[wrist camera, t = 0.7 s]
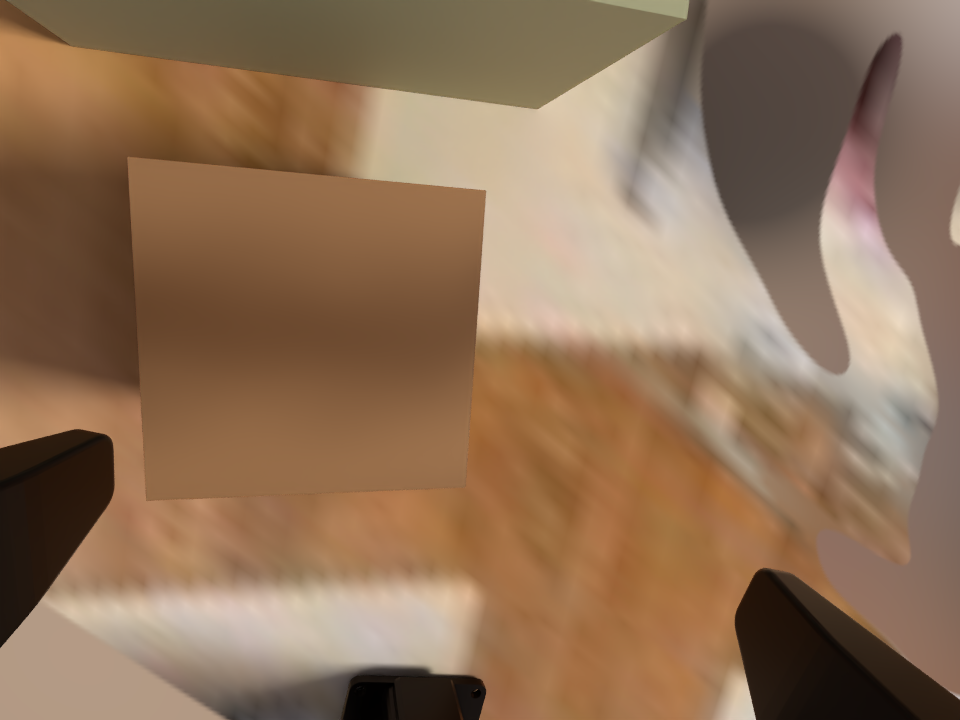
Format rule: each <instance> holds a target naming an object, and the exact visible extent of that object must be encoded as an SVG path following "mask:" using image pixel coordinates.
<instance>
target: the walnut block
mask: <svg viewBox="0 0 960 720" xmlns="http://www.w3.org/2000/svg"><path fill="white" fill-rule="evenodd" d="M127 161H128V179H129V197H130V215H131V233H132V251H133V269H134V287H135V305H136V323H137V341H138V360H139V378H140V396H141V414H142V432H143V450H144V468H145V486H146V501H154V500H178V499H202V498H226V497H250V496H274V495H298V494H322V493H346V492H370V491H393V490H417V489H441V488H465V487H466V475H467V460H468V446H469V431H470V417H471V402H472V387H473V373H474V358H475V344H476V329H477V314H478V300H479V285H480V271H481V256H482V241H483V227H484V212H485V198H486V191H485V190H474V189H464V188H453V187H443V186H432V185H421V184H411V183H400V182H390V181H379V180H369V179H358V178H347V177H337V176H326V175H316V174H305V173H294V172H284V171H273V170H263V169H252V168H242V167H231V166H220V165H210V164H199V163H189V162H178V161H167V160H157V159H146V158H136V157H127Z"/></svg>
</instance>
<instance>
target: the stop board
mask: <svg viewBox="0 0 960 720" xmlns="http://www.w3.org/2000/svg"><path fill="white" fill-rule="evenodd" d="M6 1H8V2H9V3H11V4H12V5H14V6H15V7H16V8H18V9H19V10H21V11H22V12H24V13H25V14H26V15H28V16H29V17H31V18H32V19H34V20H35V21H36V22H38V23H39V24H41V25H42V26H43V27H45V28H46V29H48V30H49V31H51V32H52V33H53V34H55V35H56V36H58V37H59V38H61V39H62V40H63V41H65V42H66V43H68V44H69V45H70V46H74V47H82V48H89V49H97V50H104V51H111V52H119V53H126V54H133V55H141V56H148V57H156V58H163V59H170V60H178V61H185V62H193V63H200V64H207V65H215V66H222V67H230V68H237V69H244V70H252V71H259V72H266V73H274V74H281V75H289V76H296V77H303V78H311V79H318V80H326V81H333V82H340V83H348V84H355V85H363V86H370V87H377V88H385V89H392V90H399V91H407V92H414V93H422V94H429V95H436V96H444V97H451V98H459V99H466V100H473V101H481V102H488V103H496V104H503V105H510V106H518V107H525V108H532V109H539V108H540V107H542V106H544V105H545V104H547V103H549V102H550V101H552V100H554V99H555V98H557V97H559V96H560V95H562V94H564V93H565V92H567V91H569V90H570V89H572V88H574V87H575V86H577V85H578V84H580V83H582V82H583V81H585V80H587V79H588V78H590V77H592V76H593V75H595V74H597V73H598V72H600V71H602V70H603V69H605V68H607V67H608V66H610V65H612V64H613V63H615V62H617V61H618V60H620V59H621V58H623V57H625V56H626V55H628V54H630V53H631V52H633V51H635V50H636V49H638V48H640V47H641V46H643V45H645V44H646V43H648V42H650V41H651V40H653V39H655V38H656V37H658V36H660V35H661V34H663V33H665V32H666V31H668V30H669V29H671V28H673V27H674V26H676V25H678V24H679V23H681V22H683V21H684V20H686V19H687V13H688V6H689V0H6Z"/></svg>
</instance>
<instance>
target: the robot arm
mask: <svg viewBox="0 0 960 720" xmlns="http://www.w3.org/2000/svg"><path fill="white" fill-rule="evenodd" d="M113 492H114V450H113V442H112V440H111V438H110V437H108V436H107V435H105V434H101V433H96V432H91V431H86V430H81V429H75V430H70V431H66V432H62V433H58V434H54V435H50V436H46V437H42V438H39V439H35V440H31V441H27V442H23V443H19V444H15V445H11V446H7V447H3V448H0V648H1V646H2V645H3V644H4V643H5V642H6V641H7V639H8V638H9V637H10V636H11V635H12V634H13V633H14V631H15V630H16V629H17V628H18V627H19V626H20V624H21V623H22V622H23V621H24V620H25V618H26V617H27V616H28V615H29V614H30V612H31V611H32V610H33V609H34V608H35V606H36V605H37V604H38V603H39V601H40V600H41V599H42V597H43V596H44V595H45V593H46V592H47V591H48V589H49V588H50V586H51V585H52V584H53V582H54V581H55V579H56V578H57V577H58V575H59V574H60V572H61V571H62V570H63V568H64V567H65V565H66V564H67V563H68V561H69V560H70V558H71V557H72V555H73V554H74V553H75V551H76V550H77V548H78V547H79V546H80V544H81V543H82V541H83V540H84V539H85V537H86V536H87V534H88V533H89V532H90V530H91V529H92V527H93V526H94V524H95V523H96V522H97V520H98V519H99V517H100V516H101V515H102V513H103V512H104V510H105V509H106V508H107V506H108V504H109V503H110V501H111V499H112V496H113ZM735 630H736V635H737V639H738V643H739V647H740V652H741V656H742V660H743V665H744V669H745V673H746V678H747V682H748V686H749V691H750V695H751V699H752V704H753V708H754V712H755V717H756V720H960V699H958V698H957V697H956V696H954V695H953V694H952V693H950V692H949V691H948V690H946V689H945V688H944V687H942V686H941V685H940V684H938V683H937V682H936V681H934V680H933V679H932V678H930V677H929V676H928V675H926V674H925V673H924V672H922V671H921V670H920V669H918V668H917V667H916V666H914V665H913V664H912V663H910V662H909V661H908V660H906V659H905V658H904V657H902V656H901V655H900V654H898V653H897V652H896V651H894V650H893V649H892V648H890V647H889V646H888V645H886V644H885V643H884V642H882V641H881V640H880V639H878V638H877V637H876V636H875V635H873V634H872V633H871V632H869V631H868V630H867V629H865V628H864V627H863V626H861V625H860V624H859V623H857V622H856V621H855V620H853V619H852V618H851V617H849V616H848V615H847V614H845V613H844V612H843V611H841V610H840V609H839V608H837V607H836V606H835V605H833V604H832V603H831V602H829V601H828V600H827V599H825V598H824V597H823V596H821V595H820V594H819V593H817V592H816V591H815V590H813V589H812V588H811V587H809V586H808V585H807V584H805V583H804V582H803V581H801V580H800V579H799V578H797V577H796V576H795V575H793V574H791V573H788V572H784V571H779V570H774V569H769V568H763V569H760V570H758V571H757V572H756V573H755V575H754V576H753V578H752V580H751V582H750V584H749V586H748V588H747V590H746V592H745V594H744V596H743V598H742V600H741V602H740V604H739V606H738V608H737V611H736V615H735ZM358 687H364V688H363V689H360V690H358V689H357V688H358ZM475 689H478V690H477V691H475V692H472V691H473V690H475ZM485 695H486V689H485V686H484V683H483V681H482V680H481V679H477V678H445V677H408V676H372V675H360V676H356V677H354V678H353V679H352V680H351V681H350V683H349V686H348V690H347V695H346V699H345V704H344V708H343V712H342V717H341V720H479V717H480V714H481V710H482V706H483V703H484V699H485Z"/></svg>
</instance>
